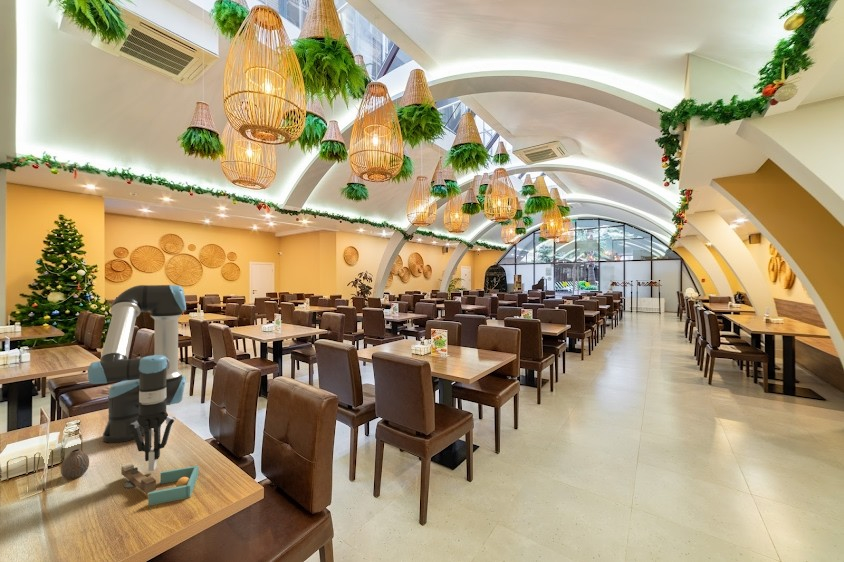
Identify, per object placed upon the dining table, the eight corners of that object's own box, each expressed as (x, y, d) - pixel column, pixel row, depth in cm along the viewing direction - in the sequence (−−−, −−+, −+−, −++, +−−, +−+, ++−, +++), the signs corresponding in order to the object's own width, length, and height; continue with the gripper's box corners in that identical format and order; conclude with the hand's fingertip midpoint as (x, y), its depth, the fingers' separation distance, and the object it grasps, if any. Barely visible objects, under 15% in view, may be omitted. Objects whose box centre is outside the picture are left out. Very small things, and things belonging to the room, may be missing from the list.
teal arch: (161, 482, 115) (161, 471, 115) (198, 475, 119) (198, 465, 119) (148, 505, 103) (148, 494, 103) (190, 497, 107) (190, 486, 107)
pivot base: (127, 481, 115) (127, 479, 115) (146, 477, 117) (146, 476, 117) (121, 489, 111) (121, 488, 111) (140, 485, 113) (140, 484, 113)
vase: (71, 483, 114) (71, 456, 114) (54, 480, 116) (55, 454, 115) (94, 471, 121) (94, 446, 121) (79, 469, 122) (79, 444, 122)
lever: (121, 476, 117) (121, 464, 117) (130, 472, 119) (130, 461, 119) (146, 496, 106) (146, 483, 106) (155, 492, 108) (155, 479, 108)
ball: (176, 486, 112) (179, 474, 113) (189, 486, 114) (192, 474, 114) (173, 492, 109) (176, 480, 109) (186, 491, 110) (189, 479, 111)
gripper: (125, 407, 114) (124, 478, 114) (172, 402, 119) (172, 470, 119) (133, 399, 121) (133, 467, 121) (178, 395, 126) (177, 460, 126)
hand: (152, 468), depth 120 cm, fingers closed
